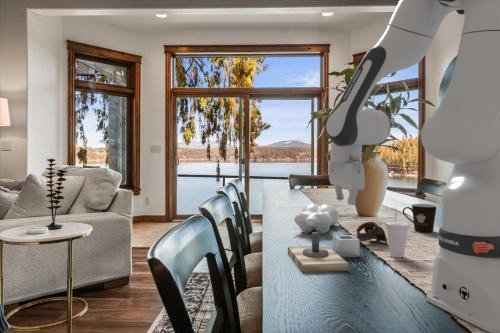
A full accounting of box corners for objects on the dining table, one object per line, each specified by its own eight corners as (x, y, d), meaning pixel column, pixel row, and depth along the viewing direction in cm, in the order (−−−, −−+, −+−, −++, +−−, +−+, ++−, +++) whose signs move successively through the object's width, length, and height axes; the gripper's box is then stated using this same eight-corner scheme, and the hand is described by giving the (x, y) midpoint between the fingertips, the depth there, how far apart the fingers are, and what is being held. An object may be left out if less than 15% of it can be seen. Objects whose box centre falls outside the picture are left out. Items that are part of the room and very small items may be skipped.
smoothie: (380, 254, 109) (381, 207, 109) (397, 252, 111) (398, 206, 111) (396, 260, 103) (396, 210, 103) (413, 258, 105) (414, 209, 105)
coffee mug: (441, 232, 139) (441, 206, 139) (424, 234, 136) (424, 207, 135) (417, 226, 150) (417, 202, 149) (400, 228, 147) (401, 203, 146)
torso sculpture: (302, 227, 161) (288, 234, 132) (303, 203, 161) (288, 205, 133) (339, 229, 156) (332, 237, 127) (339, 204, 156) (333, 206, 128)
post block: (348, 270, 94) (348, 239, 94) (302, 272, 93) (302, 241, 93) (326, 251, 112) (326, 226, 112) (287, 253, 111) (287, 227, 111)
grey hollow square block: (359, 256, 107) (359, 239, 107) (339, 257, 106) (339, 240, 106) (351, 251, 113) (351, 235, 113) (332, 251, 112) (332, 235, 112)
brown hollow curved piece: (393, 248, 118) (383, 227, 116) (366, 259, 120) (355, 239, 118) (382, 231, 130) (373, 212, 128) (357, 242, 131) (348, 223, 130)
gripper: (371, 156, 99) (370, 207, 99) (344, 155, 119) (343, 197, 120) (348, 156, 98) (348, 208, 99) (325, 155, 118) (324, 198, 119)
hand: (345, 202), depth 109 cm, fingers open, 8 cm apart
